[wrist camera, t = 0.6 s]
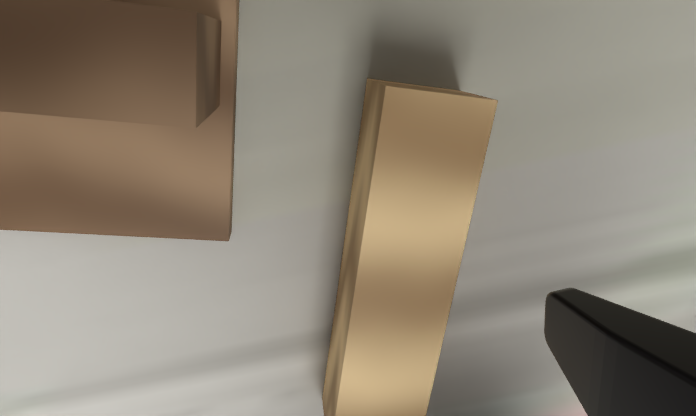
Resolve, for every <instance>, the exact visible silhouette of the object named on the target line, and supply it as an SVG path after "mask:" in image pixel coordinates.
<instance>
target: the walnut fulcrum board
mask: <svg viewBox="0 0 696 416" xmlns="http://www.w3.org/2000/svg"><path fill="white" fill-rule="evenodd" d="M238 21H239V0H0V230H18V231H38V232H58V233H78V234H97V235H117V236H137V237H157V238H176V239H196V240H216V241H229V239H230V235H231V227H232V198H233V168H234V139H235V109H236V80H237V50H238Z"/></svg>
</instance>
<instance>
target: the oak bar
mask: <svg viewBox="0 0 696 416" xmlns="http://www.w3.org/2000/svg"><path fill="white" fill-rule="evenodd" d="M497 103H498V100H494V99H490V98H486V97H483V96H479V95H475V94H471V93H467V92H463V91H459V90H451V89H444V88H436V87H429V86H421V85H413V84H406V83H398V82H391V81H383V80H375V79H368V78H367V83H366V90H365V98H364V105H363V112H362V119H361V126H360V133H359V140H358V147H357V154H356V162H355V169H354V176H353V183H352V190H351V197H350V204H349V211H348V219H347V226H346V233H345V240H344V247H343V254H342V261H341V268H340V276H339V283H338V290H337V297H336V304H335V311H334V318H333V325H332V333H331V340H330V347H329V354H328V361H327V368H326V375H325V382H324V389H323V397H322V400H323V410H324V416H426V412H427V408H428V404H429V399H430V395H431V390H432V386H433V382H434V377H435V373H436V369H437V364H438V360H439V356H440V351H441V347H442V342H443V338H444V334H445V329H446V325H447V321H448V316H449V312H450V308H451V303H452V299H453V294H454V290H455V286H456V281H457V277H458V273H459V268H460V264H461V260H462V255H463V251H464V247H465V242H466V238H467V233H468V229H469V225H470V220H471V216H472V212H473V207H474V203H475V199H476V194H477V190H478V185H479V181H480V177H481V172H482V168H483V164H484V159H485V155H486V151H487V146H488V142H489V137H490V133H491V129H492V124H493V120H494V116H495V111H496V107H497Z"/></svg>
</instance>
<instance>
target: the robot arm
mask: <svg viewBox="0 0 696 416" xmlns="http://www.w3.org/2000/svg"><path fill="white" fill-rule="evenodd" d="M544 333H545V338H546V341H547V344H548V346H549V348H550V350H551V352H552V353H553V355H554V357H555V359H556V360H557V362H558V364H559V366H560V367H561V369H562V371H563V373H564V374H565V376H566V378H567V380H568V382H569V383H570V385H571V387H572V389H573V390H574V392H575V394H576V396H577V397H578V399H579V401H580V403H581V404H582V406H583V408H584V410H585V411H586V413H587V415H588V416H696V333H694V332H691V331H688V330H685V329H683V328H680V327H677V326H675V325H672V324H669V323H667V322H664V321H661V320H658V319H656V318H653V317H650V316H648V315H645V314H642V313H640V312H637V311H634V310H631V309H629V308H626V307H623V306H621V305H618V304H615V303H613V302H610V301H607V300H604V299H602V298H599V297H596V296H594V295H591V294H588V293H586V292H583V291H580V290H577V289H574V288H567V289H562V290H557V291H553V292H550V293H549V294H548V295H547V297H546V304H545V327H544Z"/></svg>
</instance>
